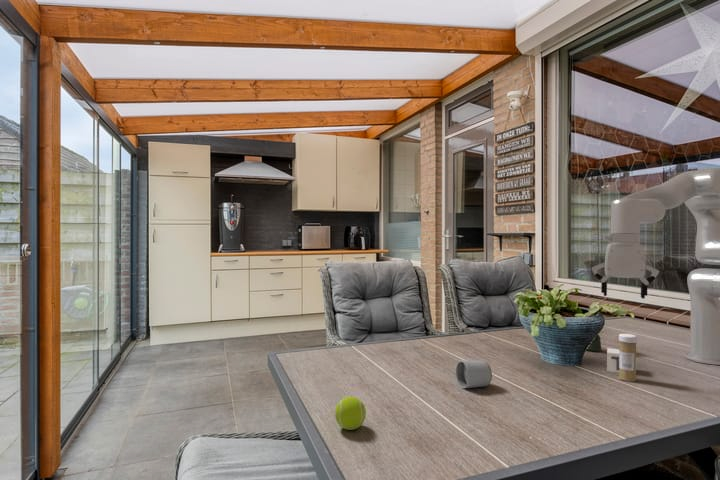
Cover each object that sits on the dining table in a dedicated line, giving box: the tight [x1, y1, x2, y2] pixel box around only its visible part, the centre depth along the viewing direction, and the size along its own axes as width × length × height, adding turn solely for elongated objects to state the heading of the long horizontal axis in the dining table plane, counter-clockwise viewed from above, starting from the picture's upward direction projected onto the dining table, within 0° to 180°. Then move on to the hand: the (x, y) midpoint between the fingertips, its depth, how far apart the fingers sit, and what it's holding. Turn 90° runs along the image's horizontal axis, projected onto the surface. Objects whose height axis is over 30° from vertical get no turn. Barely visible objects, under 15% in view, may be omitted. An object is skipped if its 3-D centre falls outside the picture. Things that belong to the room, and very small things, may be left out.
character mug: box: [587, 329, 604, 352], centre depth 161 cm, size 11×7×13 cm, turn 116°
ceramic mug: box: [455, 359, 493, 389], centre depth 125 cm, size 11×8×8 cm
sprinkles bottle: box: [618, 333, 638, 383], centre depth 129 cm, size 5×5×14 cm
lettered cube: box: [606, 347, 620, 374], centre depth 138 cm, size 6×6×6 cm
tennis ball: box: [334, 396, 367, 431], centre depth 97 cm, size 7×7×7 cm
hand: (623, 296), depth 129 cm, fingers open, 9 cm apart
